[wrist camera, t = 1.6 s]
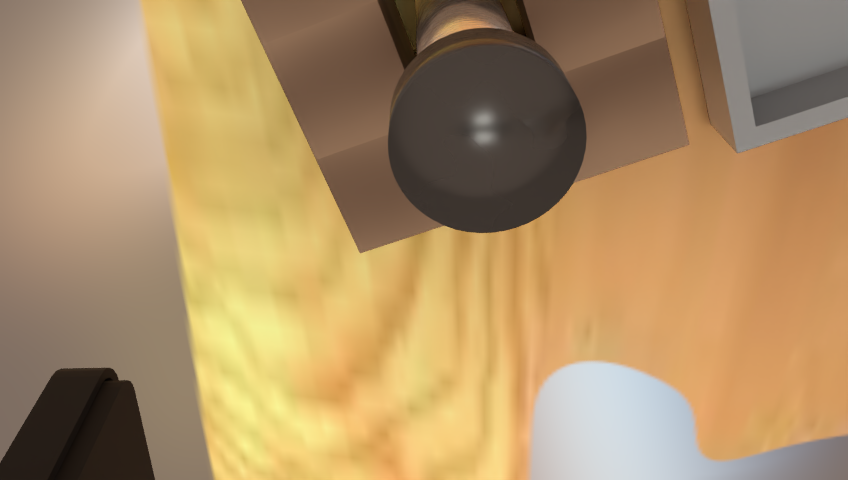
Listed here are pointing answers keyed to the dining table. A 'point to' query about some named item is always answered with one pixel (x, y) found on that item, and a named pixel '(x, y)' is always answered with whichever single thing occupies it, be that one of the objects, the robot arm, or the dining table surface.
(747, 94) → the grey tray
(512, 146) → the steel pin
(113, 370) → the robot arm
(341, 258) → the dining table surface
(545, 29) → the walnut block
